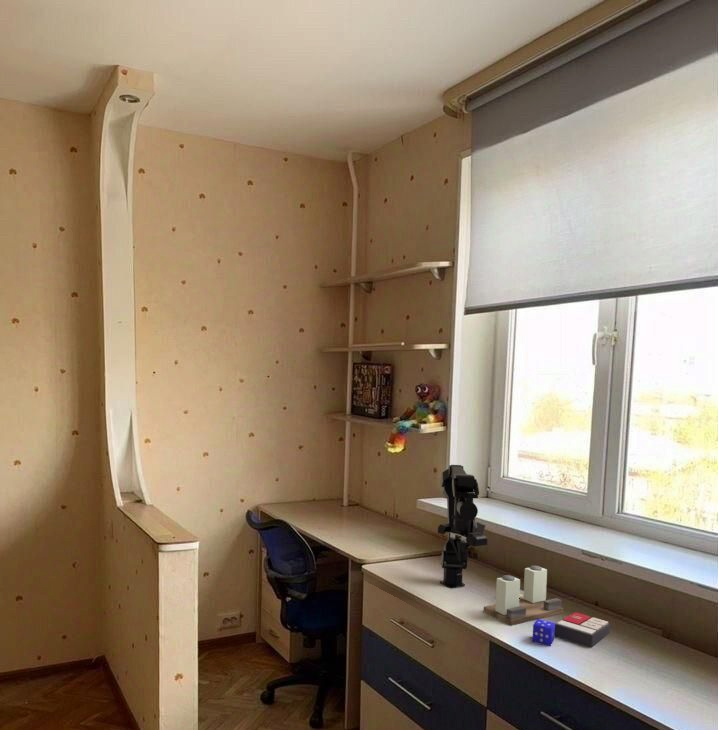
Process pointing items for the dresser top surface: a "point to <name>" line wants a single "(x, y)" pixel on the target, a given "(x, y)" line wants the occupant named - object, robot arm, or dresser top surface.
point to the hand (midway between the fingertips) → (460, 560)
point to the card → (521, 594)
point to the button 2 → (535, 584)
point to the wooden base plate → (527, 611)
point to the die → (543, 632)
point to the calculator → (582, 629)
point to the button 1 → (507, 593)
